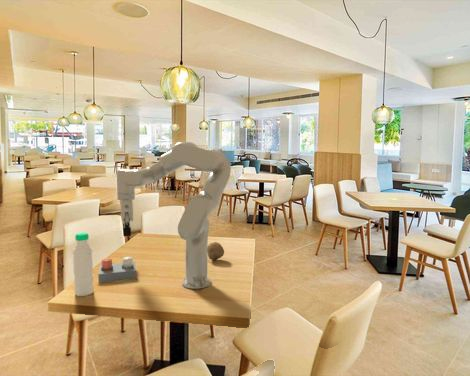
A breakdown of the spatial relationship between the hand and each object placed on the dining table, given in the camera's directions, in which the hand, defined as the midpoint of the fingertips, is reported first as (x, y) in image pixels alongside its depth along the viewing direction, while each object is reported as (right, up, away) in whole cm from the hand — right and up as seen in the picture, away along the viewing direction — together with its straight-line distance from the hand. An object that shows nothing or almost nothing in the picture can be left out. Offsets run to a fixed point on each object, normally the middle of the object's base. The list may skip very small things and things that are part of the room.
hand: (126, 233), depth 154 cm
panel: (-5, -20, +1) cm, 20 cm away
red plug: (-9, -16, -1) cm, 19 cm away
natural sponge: (+40, -18, +24) cm, 49 cm away
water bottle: (-12, -22, -17) cm, 31 cm away
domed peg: (0, -16, +2) cm, 16 cm away
